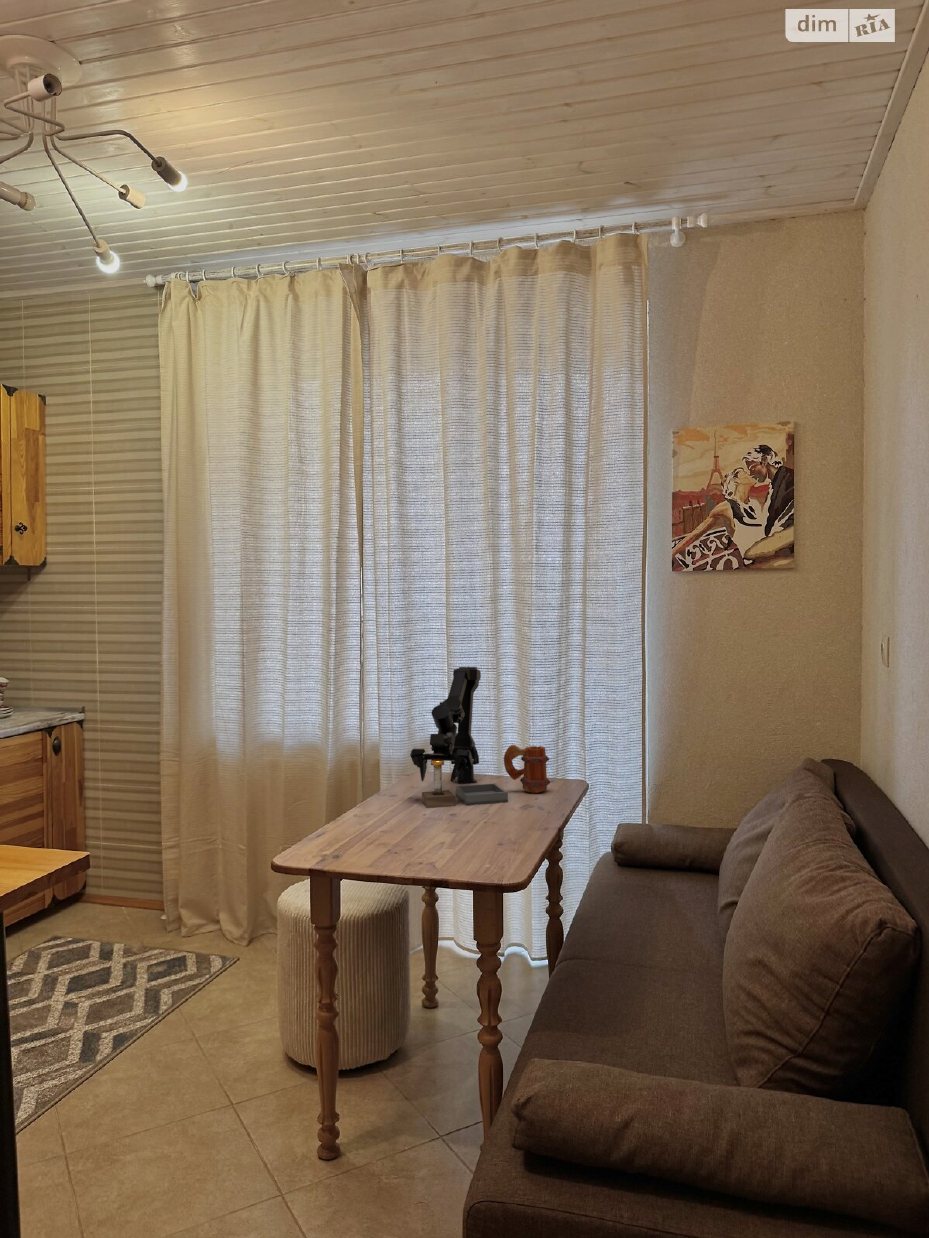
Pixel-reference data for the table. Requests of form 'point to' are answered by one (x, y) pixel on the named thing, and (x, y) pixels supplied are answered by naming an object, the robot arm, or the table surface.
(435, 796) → the hitch block
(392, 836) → the table surface
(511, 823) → the table surface
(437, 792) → the pin
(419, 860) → the table surface
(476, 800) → the tray
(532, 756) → the mug
